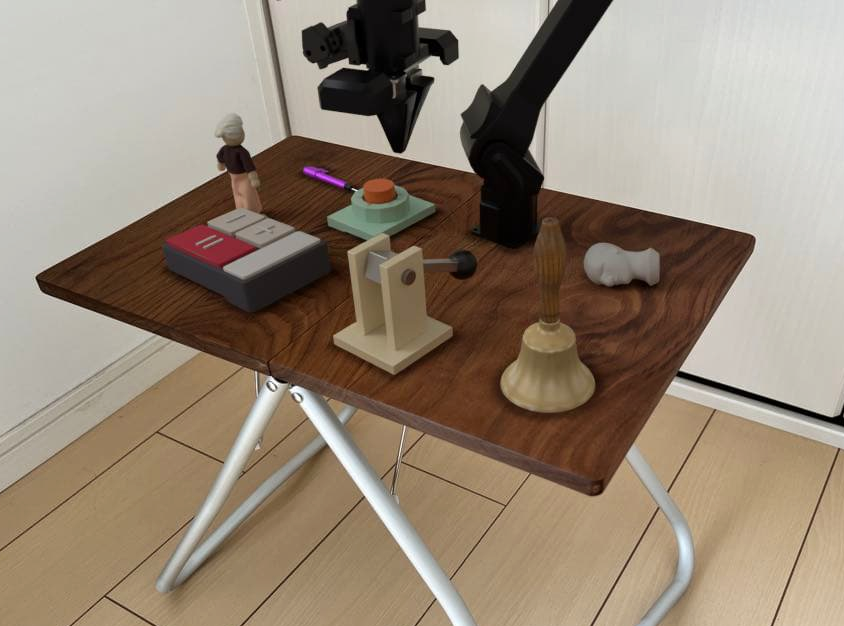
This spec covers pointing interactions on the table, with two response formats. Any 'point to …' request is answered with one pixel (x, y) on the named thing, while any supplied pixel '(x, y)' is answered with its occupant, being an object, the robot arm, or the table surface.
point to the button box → (380, 215)
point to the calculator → (248, 258)
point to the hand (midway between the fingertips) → (399, 152)
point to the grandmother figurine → (238, 163)
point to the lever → (427, 264)
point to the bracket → (390, 310)
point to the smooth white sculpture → (621, 265)
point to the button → (379, 191)
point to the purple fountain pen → (326, 177)
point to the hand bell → (548, 341)
